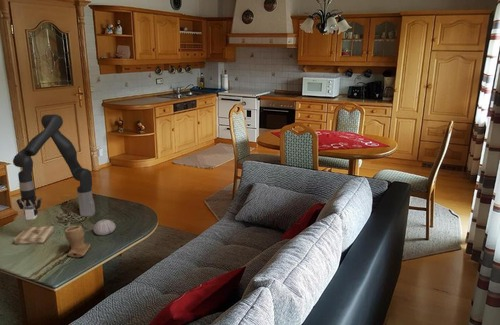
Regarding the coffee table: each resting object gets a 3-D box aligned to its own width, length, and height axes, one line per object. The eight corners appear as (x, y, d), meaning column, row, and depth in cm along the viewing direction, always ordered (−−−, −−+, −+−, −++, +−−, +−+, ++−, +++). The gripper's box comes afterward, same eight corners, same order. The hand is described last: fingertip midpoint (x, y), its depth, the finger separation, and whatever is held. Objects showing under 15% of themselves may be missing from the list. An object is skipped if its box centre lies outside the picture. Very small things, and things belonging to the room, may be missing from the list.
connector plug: (37, 216, 247) (35, 204, 245) (34, 219, 242) (32, 206, 240) (29, 216, 247) (27, 204, 244) (26, 219, 242) (24, 207, 240)
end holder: (53, 232, 256) (53, 226, 255) (43, 244, 241) (42, 237, 240) (27, 233, 255) (26, 227, 254) (15, 244, 240) (14, 238, 239)
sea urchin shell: (92, 238, 249) (91, 226, 246) (94, 228, 261) (93, 217, 259) (115, 235, 252) (114, 223, 250) (116, 226, 265) (115, 215, 262)
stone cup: (72, 246, 238) (68, 222, 234) (92, 245, 239) (89, 222, 235) (61, 259, 224) (58, 234, 219) (83, 258, 224) (80, 233, 220)
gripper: (42, 185, 244) (46, 212, 248) (17, 186, 243) (22, 213, 247) (36, 190, 236) (40, 217, 241) (11, 190, 235) (16, 218, 240)
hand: (31, 215), depth 244 cm, fingers closed on connector plug, 4 cm apart
